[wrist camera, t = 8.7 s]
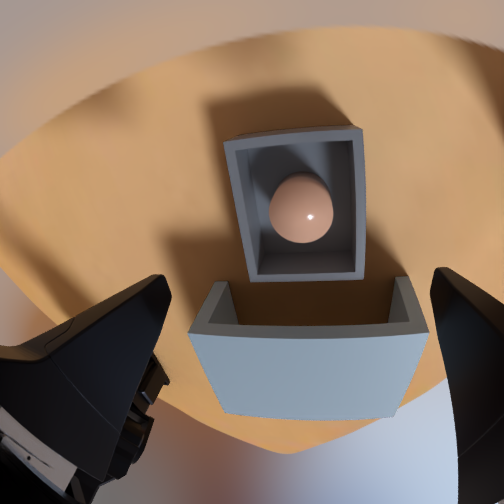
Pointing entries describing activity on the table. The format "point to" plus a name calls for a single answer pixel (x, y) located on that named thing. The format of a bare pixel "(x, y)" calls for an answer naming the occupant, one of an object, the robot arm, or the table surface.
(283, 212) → the tan rounded dome
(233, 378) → the grey small bench
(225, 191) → the table surface
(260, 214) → the tray
